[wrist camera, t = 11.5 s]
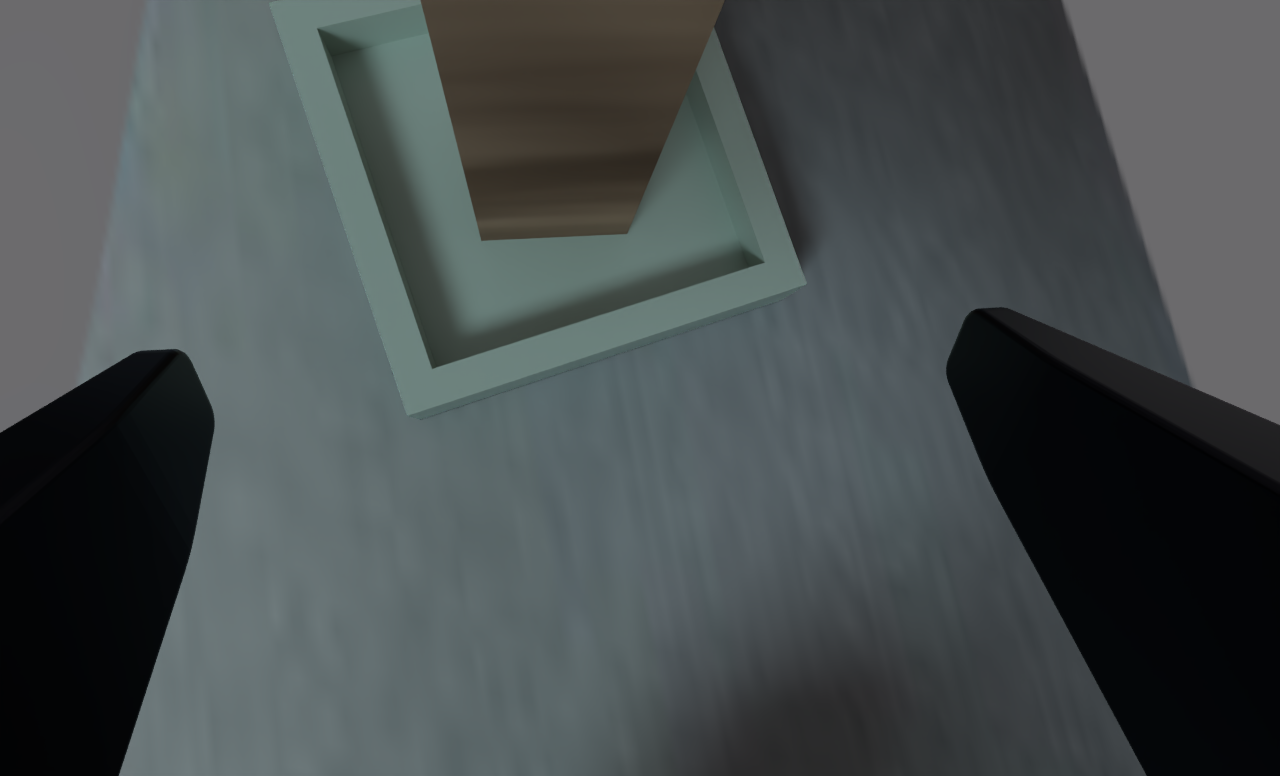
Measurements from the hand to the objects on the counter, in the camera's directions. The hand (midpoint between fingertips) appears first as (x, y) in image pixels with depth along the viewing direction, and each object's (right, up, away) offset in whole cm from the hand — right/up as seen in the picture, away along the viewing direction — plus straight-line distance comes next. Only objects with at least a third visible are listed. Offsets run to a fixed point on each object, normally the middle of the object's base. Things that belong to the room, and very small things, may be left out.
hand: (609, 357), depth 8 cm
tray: (-3, +6, +14) cm, 16 cm away
